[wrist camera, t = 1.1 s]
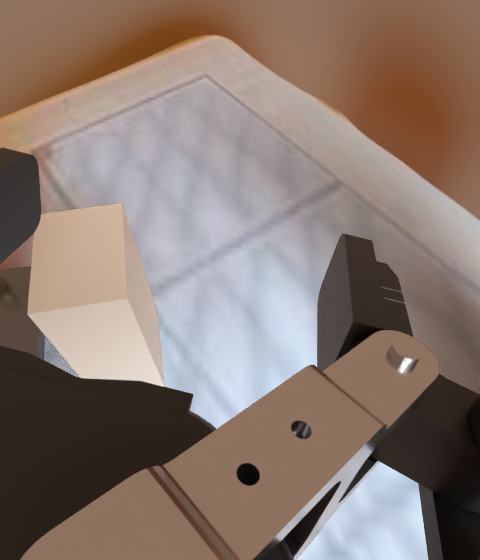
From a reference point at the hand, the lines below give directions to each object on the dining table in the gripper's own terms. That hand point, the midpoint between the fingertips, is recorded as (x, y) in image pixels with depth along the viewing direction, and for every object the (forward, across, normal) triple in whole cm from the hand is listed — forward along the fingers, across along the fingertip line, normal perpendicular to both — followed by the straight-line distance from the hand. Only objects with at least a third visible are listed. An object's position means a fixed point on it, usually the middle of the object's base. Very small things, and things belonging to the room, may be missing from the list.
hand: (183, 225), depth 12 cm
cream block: (+12, +5, +18) cm, 22 cm away
